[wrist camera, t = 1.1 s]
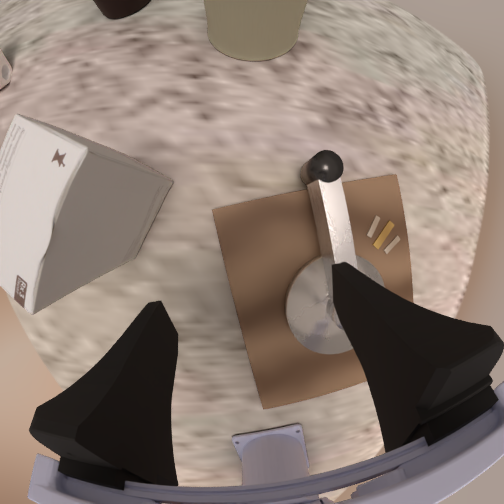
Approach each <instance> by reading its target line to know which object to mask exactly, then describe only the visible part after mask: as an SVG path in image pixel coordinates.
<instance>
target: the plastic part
mask: <svg viewBox="0 0 504 504" xmlns="http://www.w3.org/2000/svg"><path fill="white" fill-rule="evenodd" d="M12 72H13V71H12V68H11V66H10V64H9V62H8V61H7V59H6V57H5V56H4V54H3V52H2V50H1V49H0V89H1V88H3V87H4V86H5V85H7V84H8V83H9V82H10V81H11V76H12Z"/></svg>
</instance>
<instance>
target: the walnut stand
mask: <svg viewBox="0 0 504 504" xmlns="http://www.w3.org/2000/svg"><path fill="white" fill-rule="evenodd" d="M342 186H343V191H344V195H345V200H346V205H347V210H348V215H349V220H350V225H351V231H352V236H353V242H354V248H355V255H358V256H360V257H362V258H364V259H366V260H367V261H369V262H370V263H371V264H372V265H373V266H374V267H375V268H376V269H377V270H378V272H379V274H380V275H381V277H382V280H383V282H384V286H385V288H386V289H388V290H390V291H391V292H393V293H395V294H397V295H399V296H400V297H402V298H404V299H406V300H408V301H410V302H412V303H413V287H412V273H411V262H410V252H409V243H408V236H407V229H406V222H405V216H404V210H403V204H402V199H401V193H400V189H399V184H398V179H397V175H396V174H395V175H388V176H381V177H375V178H368V179H362V180H356V181H350V182H344V183H342ZM212 212H213V216H214V220H215V225H216V229H217V233H218V238H219V242H220V246H221V250H222V255H223V259H224V263H225V267H226V271H227V275H228V279H229V283H230V287H231V291H232V295H233V299H234V303H235V307H236V311H237V315H238V319H239V323H240V326H241V330H242V334H243V338H244V342H245V345H246V349H247V353H248V356H249V360H250V364H251V367H252V371H253V375H254V378H255V382H256V385H257V389H258V392H259V396H260V399H261V403H262V406H263V409H268V408H273V407H278V406H283V405H287V404H291V403H295V402H299V401H303V400H307V399H311V398H315V397H318V396H322V395H325V394H329V393H332V392H335V391H338V390H342V389H345V388H348V387H351V386H354V385H357V384H360V383H362V382H365V381H367V379H366V376H365V373H364V370H363V368H362V366H361V363H360V361H359V359H358V357H357V355H356V353H355V351H354V349H351V350H349V351H346V352H343V353H339V354H321V353H317V352H314V351H312V350H309V349H308V348H306V347H304V346H303V345H302V344H301V343H300V342H299V341H298V340H297V339H296V338H295V336H294V335H293V333H292V331H291V329H290V326H289V324H288V322H287V318H286V314H285V298H286V294H287V290H288V287H289V285H290V283H291V281H292V279H293V277H294V276H295V275H296V273H297V272H298V271H299V270H300V269H301V267H302V266H303V265H305V264H306V263H307V262H308V261H310V260H312V259H313V258H315V257H317V256H319V255H321V251H320V246H319V240H318V235H317V230H316V225H315V220H314V215H313V211H312V206H311V202H310V197H309V193H308V189H306V190H301V191H296V192H291V193H286V194H281V195H276V196H271V197H266V198H262V199H257V200H253V201H248V202H244V203H239V204H235V205H230V206H226V207H222V208H218V209H213V210H212Z"/></svg>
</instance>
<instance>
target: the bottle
mask: <svg viewBox="0 0 504 504" xmlns="http://www.w3.org/2000/svg"><path fill="white" fill-rule="evenodd" d="M93 1H94V2H95V3H96V5H97V6H98V8H99V9H100V10H101V12H102V13H103V15H105V16H106V17H108V18H113V19H115V18H122V17H125V16H128V15H131V14H132V13H134V12H136V11H138V10H140V9H141V8H142V7H144V6H145V5H146V4H147V3H148V2H149V1H150V0H93Z"/></svg>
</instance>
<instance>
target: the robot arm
mask: <svg viewBox="0 0 504 504" xmlns="http://www.w3.org/2000/svg"><path fill="white" fill-rule="evenodd" d="M332 285H333V304H334V307H335V310H336V313H337V315H338V318H339V321H340V323H341V325H342V327H343V329H344V331H345V333H346V335H347V337H348V339H349V341H350V343H351V345H352V347H353V349H354V351H355V353H356V355H357V357H358V359H359V361H360V363H361V366H362V368H363V370H364V373H365V376H366V379H367V382H368V385H369V388H370V391H371V394H372V398H373V401H374V405H375V408H376V412H377V416H378V420H379V423H380V428H381V432H382V437H383V442H384V447H385V452H386V453H385V454H382V455H379V456H377V457H374V458H371V459H368V460H365V461H362V462H359V463H356V464H353V465H350V466H346V467H343V468H339V469H336V470H332V471H328V472H324V473H320V474H316V475H311V476H310V474H309V471H308V468H309V462H308V457H307V451H306V446H305V441H304V436H303V430H302V426H301V425H300V424H294V425H290V426H286V427H281V428H276V429H271V430H266V431H261V432H255V433H249V434H242V435H235V436H233V437H232V442H233V444H234V446H235V449H236V451H237V453H238V455H239V458H240V460H241V462H242V486H228V487H180V486H178V480H177V475H176V469H175V463H174V455H173V445H172V430H171V401H172V392H173V385H174V378H175V371H176V364H177V357H178V333H177V331H176V329H175V327H174V325H173V323H172V321H171V319H170V317H169V315H168V314H167V312H166V310H165V308H164V306H163V304H162V302H161V301H156V302H150V303H148V304H147V305H146V306H145V307H144V308H143V310H142V311H141V312H140V313H139V314H138V316H137V317H136V318H135V319H134V321H133V322H132V323H131V324H130V326H129V327H128V328H127V330H126V331H125V332H124V333H123V335H122V336H121V337H120V338H119V339H118V340H117V342H116V343H115V344H114V345H113V346H112V348H111V349H110V350H109V351H108V352H107V353H106V354H105V355H104V357H103V358H102V359H101V360H100V361H99V362H98V363H97V364H96V365H95V366H94V367H93V368H92V369H90V370H89V371H88V372H87V373H86V374H85V375H84V376H82V377H81V378H80V379H79V380H78V381H77V382H75V383H74V384H73V385H71V386H70V387H69V388H67V389H66V390H65V391H63V392H62V393H60V394H59V395H57V396H56V397H54V398H52V399H51V400H49V401H47V402H45V403H44V404H42V405H40V406H38V407H37V409H36V411H35V414H34V417H33V420H32V423H31V426H30V429H29V431H30V433H31V435H32V436H33V437H34V438H35V439H36V440H37V441H39V442H40V443H42V444H43V445H44V446H46V447H47V448H49V449H50V450H52V451H53V452H55V453H56V454H58V455H60V456H61V458H60V462H59V461H57V460H55V459H53V458H50V457H47V456H44V455H41V454H37V455H36V459H35V463H34V467H33V472H32V476H31V481H30V486H29V492H28V498H29V499H30V500H32V501H34V502H36V503H37V504H162V503H166V504H437V503H439V502H441V501H443V500H444V499H446V498H447V497H449V496H450V495H452V494H454V493H455V492H456V491H458V490H460V489H461V488H463V487H464V486H465V485H467V484H468V483H469V482H471V481H473V480H474V479H475V478H476V477H478V476H479V475H481V474H482V473H483V472H484V471H486V470H487V469H488V468H489V467H491V466H492V465H493V464H494V463H495V462H497V461H498V460H499V459H500V458H501V457H502V456H503V455H504V381H503V382H502V383H501V384H499V385H498V386H497V387H496V388H495V389H494V390H493V389H492V388H491V386H490V385H491V384H492V382H493V380H492V378H491V377H490V375H489V374H490V372H491V371H492V369H493V368H494V366H495V365H496V363H497V361H498V360H499V358H500V356H501V354H502V352H503V349H504V342H503V341H502V340H501V339H500V337H499V336H498V335H497V333H496V332H495V331H494V329H493V328H492V327H491V326H487V325H481V324H476V323H470V322H466V321H462V320H458V319H454V318H451V317H448V316H444V315H441V314H439V313H436V312H433V311H431V310H428V309H426V308H423V307H421V306H419V305H417V304H414V303H412V302H410V301H408V300H406V299H404V298H402V297H400V296H399V295H397V294H395V293H393V292H391V291H390V290H388V289H386V288H385V287H383V286H381V285H380V284H378V283H377V282H375V281H374V280H372V279H371V278H369V277H368V276H366V275H365V274H363V273H362V272H360V271H359V270H357V269H356V268H354V267H353V266H352V265H350V264H349V263H347V262H341V263H337V264H333V265H332ZM297 430H298V431H297ZM236 441H238V442H236ZM386 473H387V474H386ZM381 475H382V476H381ZM378 476H380V477H378ZM376 477H378V478H376ZM373 478H376V479H373ZM370 479H373V480H371V481H369V482H366V483H364V484H361V485H359V486H358V487H357V491H355V492H353V493H352V494H351V498H352V499H348V500H344V501H341V502H337V503H334V502H333V501H332V500H330V499H328V498H327V497H323V498H320V499H319V495H318V494H322V493H326V492H330V491H334V490H337V489H341V488H345V487H348V486H351V485H355V484H358V483H361V482H364V481H367V480H370Z"/></svg>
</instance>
